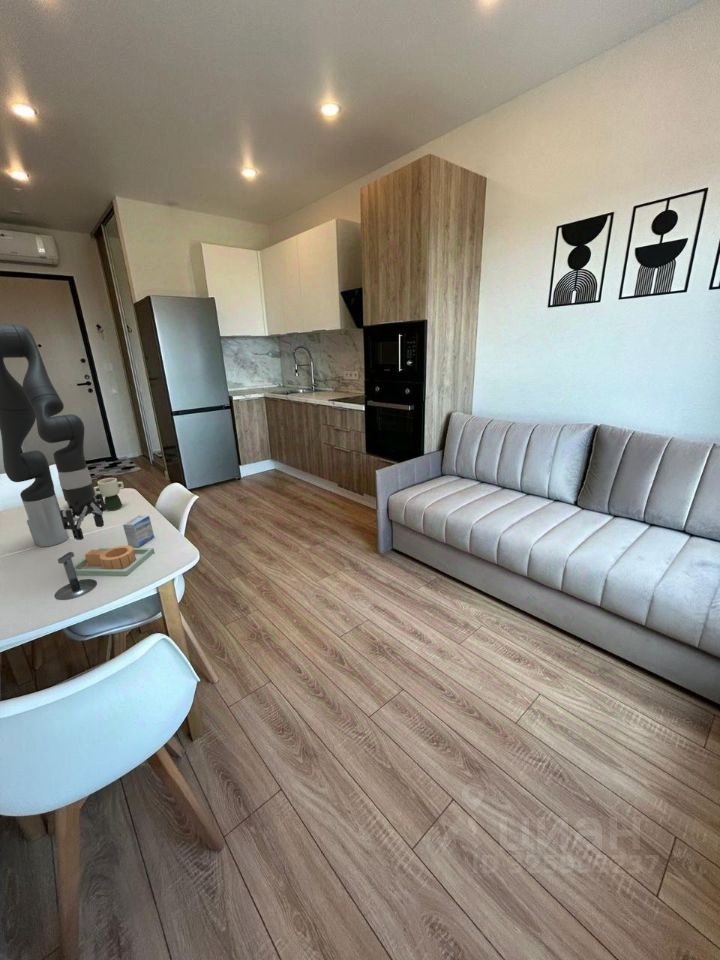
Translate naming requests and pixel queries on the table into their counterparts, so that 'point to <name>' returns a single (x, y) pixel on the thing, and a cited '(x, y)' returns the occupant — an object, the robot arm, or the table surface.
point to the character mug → (110, 492)
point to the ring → (112, 557)
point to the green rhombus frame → (114, 572)
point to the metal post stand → (73, 581)
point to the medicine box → (138, 531)
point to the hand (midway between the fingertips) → (90, 532)
